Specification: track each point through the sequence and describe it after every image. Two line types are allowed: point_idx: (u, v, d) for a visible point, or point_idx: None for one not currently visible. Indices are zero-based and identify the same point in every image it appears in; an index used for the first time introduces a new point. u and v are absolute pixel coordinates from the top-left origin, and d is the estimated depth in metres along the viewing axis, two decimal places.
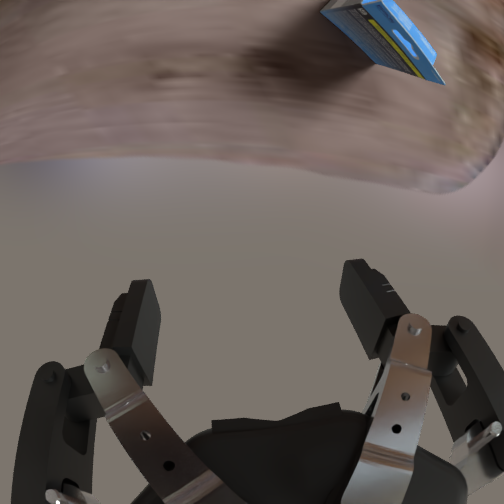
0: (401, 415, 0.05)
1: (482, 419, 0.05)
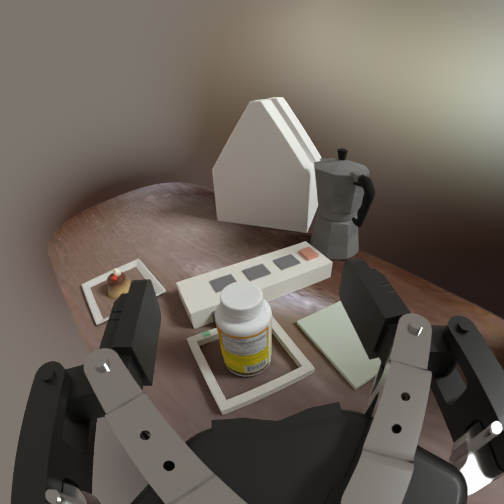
0: (401, 415, 0.05)
1: (482, 419, 0.05)
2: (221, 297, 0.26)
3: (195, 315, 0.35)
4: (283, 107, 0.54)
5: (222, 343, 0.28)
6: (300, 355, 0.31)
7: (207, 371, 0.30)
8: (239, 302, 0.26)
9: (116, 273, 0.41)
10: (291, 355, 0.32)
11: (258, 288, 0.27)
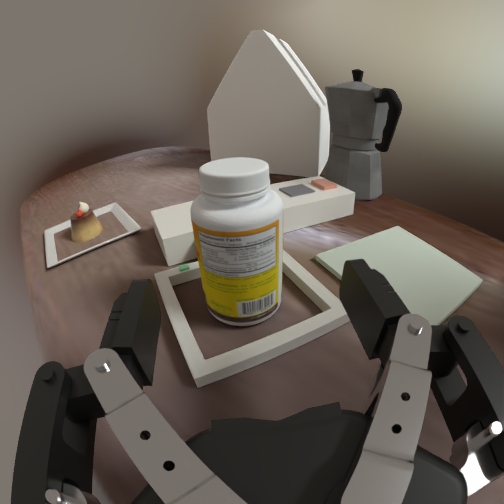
0: (401, 415, 0.05)
1: (482, 419, 0.05)
2: (201, 168, 0.16)
3: (169, 243, 0.25)
4: (287, 48, 0.44)
5: (201, 258, 0.17)
6: (327, 293, 0.20)
7: (178, 316, 0.19)
8: (230, 171, 0.15)
9: (82, 208, 0.30)
10: (312, 295, 0.21)
11: (261, 160, 0.16)
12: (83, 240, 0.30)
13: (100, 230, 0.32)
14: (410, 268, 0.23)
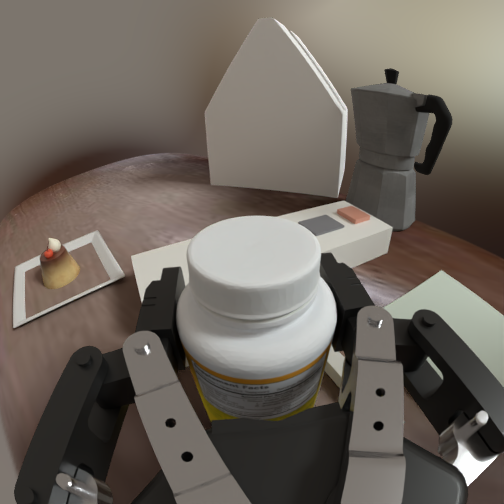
0: (380, 411, 0.05)
1: (465, 410, 0.05)
2: (190, 251, 0.08)
3: None
4: (299, 42, 0.36)
5: (199, 386, 0.10)
6: None
7: None
8: (250, 266, 0.07)
9: (52, 246, 0.23)
10: None
11: (304, 229, 0.09)
12: (55, 286, 0.23)
13: (76, 273, 0.25)
14: (464, 337, 0.16)
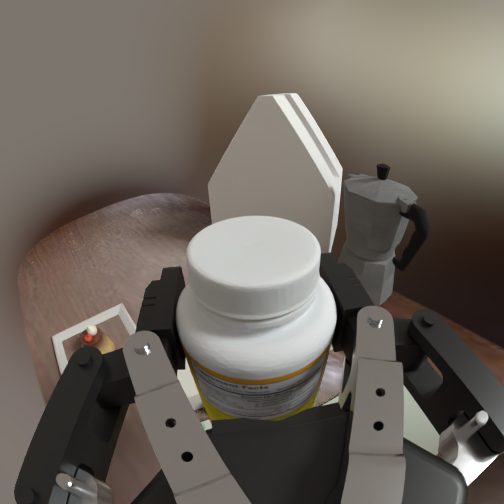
0: (380, 411, 0.05)
1: (465, 410, 0.05)
2: (190, 251, 0.08)
3: None
4: (298, 106, 0.42)
5: (198, 386, 0.10)
6: None
7: None
8: (250, 266, 0.07)
9: (90, 332, 0.29)
10: None
11: (303, 229, 0.09)
12: None
13: (112, 350, 0.31)
14: (405, 414, 0.22)
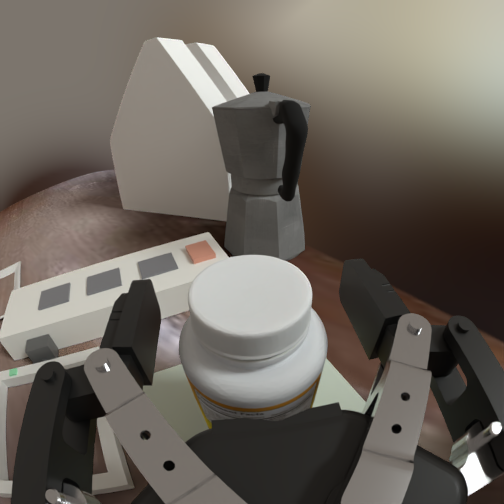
0: (401, 415, 0.05)
1: (482, 419, 0.05)
2: (191, 296, 0.09)
3: (5, 342, 0.16)
4: (206, 53, 0.35)
5: (201, 408, 0.10)
6: (112, 450, 0.12)
7: None
8: (246, 314, 0.08)
9: None
10: None
11: (297, 271, 0.10)
12: None
13: None
14: None
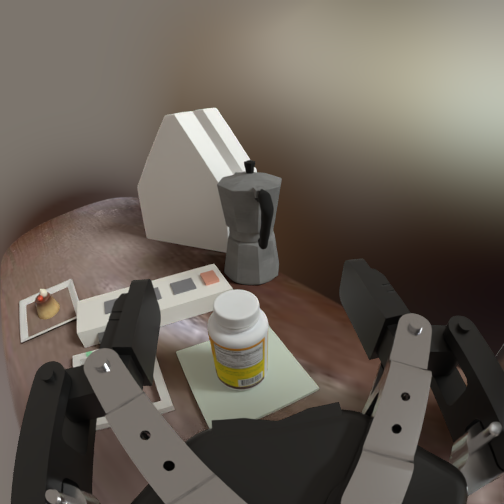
0: (401, 415, 0.05)
1: (482, 419, 0.05)
2: (214, 306, 0.24)
3: (81, 335, 0.31)
4: (210, 119, 0.52)
5: (215, 355, 0.26)
6: (163, 389, 0.27)
7: None
8: (234, 312, 0.24)
9: (42, 294, 0.36)
10: (157, 387, 0.28)
11: (254, 297, 0.25)
12: (45, 318, 0.36)
13: (57, 310, 0.38)
14: None
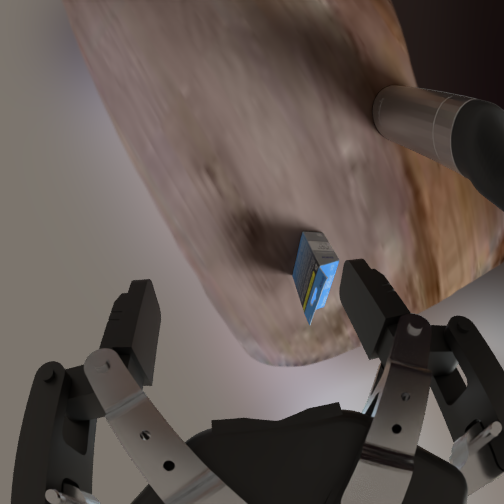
0: (401, 415, 0.05)
1: (482, 419, 0.05)
2: None
3: None
4: None
5: None
6: None
7: None
8: None
9: None
10: None
11: None
12: None
13: None
14: None
